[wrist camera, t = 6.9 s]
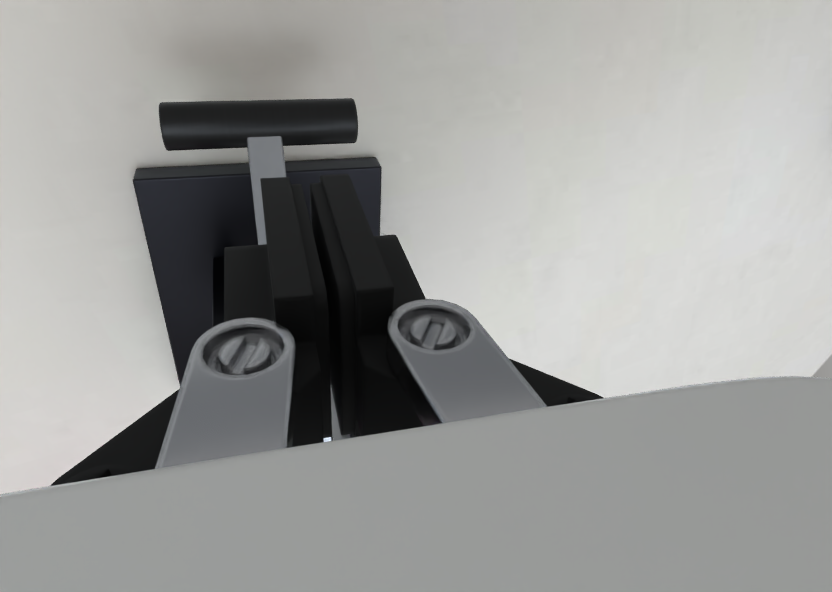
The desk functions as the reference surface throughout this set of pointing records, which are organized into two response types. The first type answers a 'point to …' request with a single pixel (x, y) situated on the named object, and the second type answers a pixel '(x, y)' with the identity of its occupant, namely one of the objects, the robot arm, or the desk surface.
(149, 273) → the desk surface
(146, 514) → the robot arm
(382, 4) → the desk surface
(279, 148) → the lever
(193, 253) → the bracket
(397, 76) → the desk surface
